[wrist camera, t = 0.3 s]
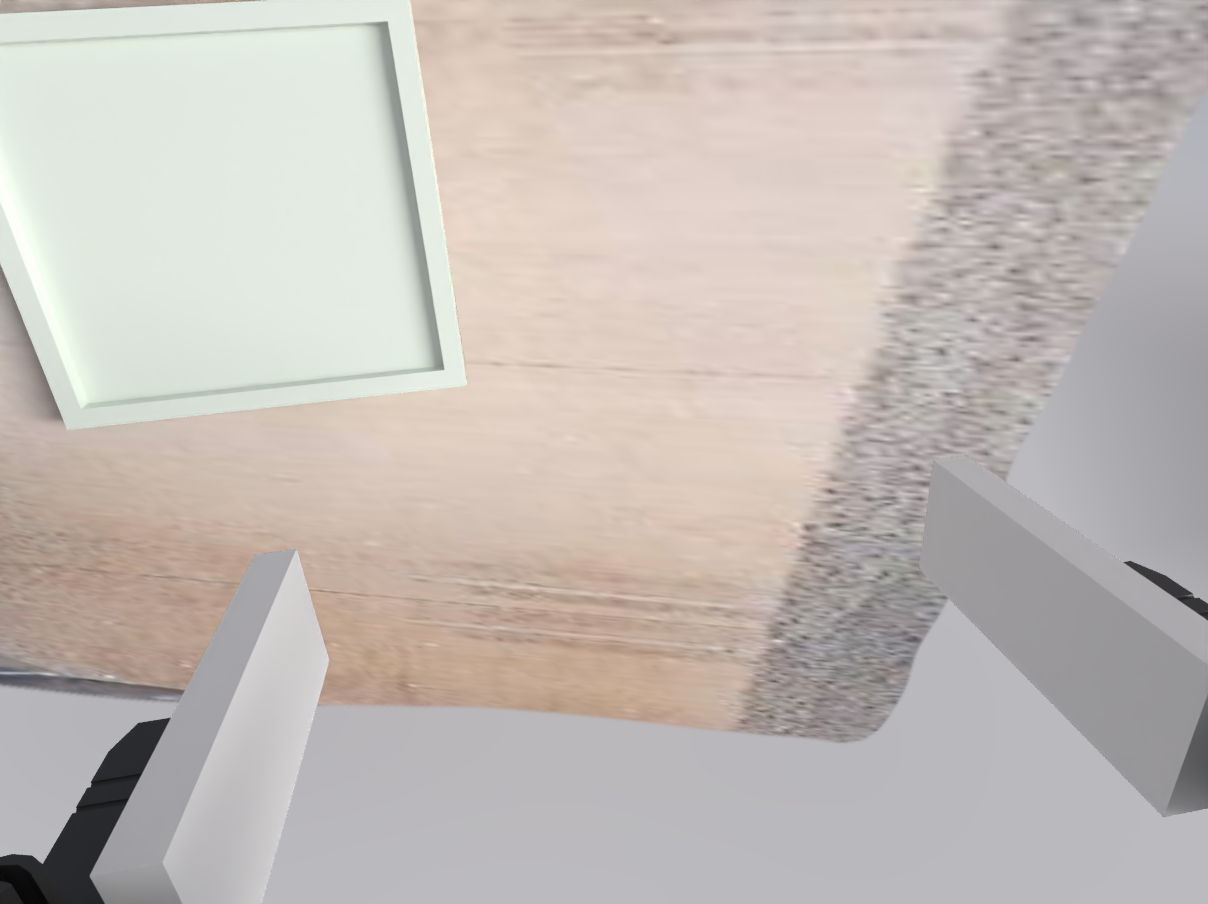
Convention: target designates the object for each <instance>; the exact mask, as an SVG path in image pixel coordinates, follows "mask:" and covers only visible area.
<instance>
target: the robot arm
mask: <svg viewBox="0 0 1208 904" xmlns="http://www.w3.org/2000/svg"><path fill="white" fill-rule="evenodd" d="M919 569H920V570H921V571H922V572H923V573H924V574H925V575H926V576H927V577H928V578H929V579H930V580H931V581H932V582H933V583H934V584H935V585H936V586H937V587H938V588H939V589H940V590H941V591H942V592H943V593H944V594H945V595H946V596H947V597H948V598H949V599H950V600H951V601H952V602H953V603H954V604H955V605H956V606H957V607H958V608H959V609H960V610H961V611H962V613H963V614H964V615H965V616H966V617H967V618H968V619H969V620H970V621H971V622H972V623H973V624H974V625H975V626H976V627H977V628H978V629H979V630H980V631H981V632H982V633H983V634H984V635H985V636H986V637H987V638H988V639H989V640H990V641H991V642H992V643H993V644H994V645H995V646H996V647H997V648H998V649H999V650H1000V651H1001V652H1002V653H1003V654H1004V655H1005V656H1006V657H1007V658H1008V659H1009V660H1010V661H1011V662H1012V663H1013V664H1014V665H1015V666H1016V668H1017V669H1018V670H1019V671H1020V672H1021V673H1022V674H1023V675H1024V676H1025V677H1026V678H1028V680H1029V681H1030V682H1031V683H1032V684H1033V685H1034V686H1035V687H1036V688H1037V689H1038V690H1039V691H1040V692H1041V693H1042V694H1043V695H1044V696H1045V697H1046V698H1047V699H1048V700H1049V701H1050V702H1051V703H1052V704H1053V705H1054V706H1055V707H1056V708H1057V709H1058V710H1059V711H1060V712H1061V713H1062V714H1063V715H1064V716H1065V717H1066V718H1067V719H1068V720H1069V721H1070V722H1071V724H1072V725H1073V726H1074V727H1075V728H1076V729H1077V730H1078V731H1080V733H1081V734H1082V735H1083V736H1084V737H1085V738H1086V739H1087V740H1088V741H1089V742H1090V743H1091V744H1092V745H1093V746H1094V747H1095V748H1096V749H1097V750H1098V751H1099V752H1100V753H1101V754H1102V755H1103V756H1104V757H1105V758H1106V759H1107V760H1108V761H1109V762H1110V763H1111V764H1112V765H1113V766H1114V767H1115V768H1116V769H1117V770H1118V771H1119V772H1120V773H1121V774H1122V775H1123V776H1124V778H1125V779H1127V780H1128V782H1129V783H1130V784H1131V785H1132V786H1133V787H1134V788H1136V790H1137V791H1138V792H1139V793H1140V794H1141V795H1142V796H1143V797H1144V798H1145V799H1146V800H1147V801H1148V802H1149V803H1150V804H1151V805H1152V806H1153V807H1154V808H1155V809H1156V810H1157V811H1158V812H1159V813H1160V814H1161V815H1162V816H1163V817H1167V816H1172V815H1177V814H1182V813H1187V812H1192V811H1196V810H1202V809H1206V808H1208V604H1207V603H1206V602H1204V601H1203V600H1201V599H1200V598H1194V597H1193V594H1192V593H1191V592H1189V591H1188V590H1186V589H1185V588H1183V587H1182V586H1180V585H1179V584H1177V583H1176V582H1174V581H1173V580H1171V579H1170V578H1168V577H1167V576H1165V575H1163V574H1160V573H1158V572H1155V571H1153V570H1151V569H1148V568H1146V567H1143V566H1141V565H1139V564H1136V563H1134V562H1131V561H1128V562H1122V561H1120V560H1119V559H1117V558H1116V557H1115V556H1113V555H1112V554H1110V553H1108V552H1107V551H1106V550H1104V549H1103V548H1101V547H1100V546H1099V545H1097V544H1095V543H1094V542H1093V541H1091V540H1089V539H1088V538H1087V537H1085V536H1084V535H1082V534H1081V533H1080V532H1078V531H1077V530H1075V529H1074V528H1072V527H1071V526H1069V525H1068V524H1066V523H1065V522H1064V521H1062V520H1061V519H1059V518H1058V517H1056V516H1055V515H1053V514H1052V513H1050V512H1049V511H1048V510H1046V509H1044V508H1043V507H1042V506H1040V505H1039V504H1037V503H1036V502H1034V501H1033V500H1031V499H1030V498H1028V497H1027V496H1025V495H1024V494H1023V493H1021V492H1020V491H1018V490H1017V489H1015V488H1014V487H1012V486H1011V485H1009V484H1008V483H1007V482H1005V481H1004V480H1002V479H1001V478H999V477H998V476H997V475H995V474H994V473H992V472H991V471H989V470H988V469H986V468H985V467H983V466H982V465H980V464H979V463H978V462H976V461H975V460H973V459H972V458H970V457H969V456H967V455H964V456H957V457H950V458H943V459H935V460H933V466H932V473H931V481H930V489H929V496H928V504H927V512H926V519H925V527H924V535H923V542H922V550H921V558H920V566H919ZM328 664H329V658H328V655H327V651H326V648H325V645H324V641H323V638H322V634H321V631H320V628H319V624H318V621H317V617H316V614H315V611H314V607H313V604H312V600H311V597H310V594H309V590H308V587H307V583H306V580H305V577H304V573H303V570H302V566H301V563H300V560H299V556H298V553H297V549H292V550H285V551H278V552H271V553H264V554H256V555H255V556H254V558H253V560H252V562H251V564H250V566H249V568H248V570H247V572H246V573H245V575H244V577H243V579H242V581H241V583H240V585H239V587H238V589H237V591H236V593H235V595H234V597H233V599H232V601H231V603H230V604H229V606H228V608H227V610H226V612H225V614H224V616H223V618H222V620H221V622H220V624H219V626H218V628H217V630H216V632H215V634H214V635H213V637H212V639H211V641H210V643H209V645H208V647H207V649H206V651H205V653H204V655H203V657H202V659H201V661H200V663H199V665H198V667H197V668H196V670H195V672H194V674H193V676H192V678H191V680H190V682H189V684H188V686H187V688H186V690H185V692H184V694H183V696H182V698H181V699H180V701H179V703H178V705H177V707H176V709H175V711H174V713H173V715H172V717H171V718H167V719H161V720H154V721H148V722H142V723H138V724H137V725H136V726H135V727H134V728H133V729H132V730H131V731H130V732H129V733H128V734H126V735H125V736H124V737H123V738H122V739H121V740H120V741H119V742H118V743H117V744H116V745H115V746H114V747H113V748H112V749H111V750H110V751H109V752H108V754H107V755H106V757H105V759H104V761H103V762H102V764H101V766H100V767H99V769H98V771H97V772H96V774H95V776H94V778H93V779H92V781H91V787H90V788H87V789H86V791H85V793H84V795H83V796H82V798H81V800H80V802H79V803H78V805H77V807H76V808H77V811H76V813H73V814H72V815H71V817H70V818H69V820H68V822H67V824H66V825H65V827H64V829H63V831H62V832H61V834H60V836H59V837H58V839H57V841H56V842H55V844H54V846H53V848H52V849H51V851H50V853H49V854H48V856H47V858H46V859H45V861H44V863H43V864H42V863H40V862H39V861H38V860H37V859H36V858H34V857H33V856H29V855H16V854H11V855H7V856H3V857H0V904H262V902H263V898H264V894H265V891H266V887H267V884H268V880H269V876H270V873H271V869H272V866H273V862H274V858H275V855H276V851H277V847H278V844H279V840H280V836H281V833H282V830H283V826H284V822H285V819H286V815H287V812H288V808H289V804H290V800H291V797H292V794H293V790H294V786H295V783H296V779H297V775H298V772H299V768H300V765H301V761H302V757H303V754H304V750H305V747H306V743H307V739H308V736H309V732H310V728H311V725H312V721H313V718H314V714H315V710H316V707H317V703H318V700H319V696H320V693H321V689H322V685H323V682H324V678H325V675H326V671H327V667H328Z"/></svg>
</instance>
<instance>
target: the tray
mask: <svg viewBox="0 0 1208 904" xmlns="http://www.w3.org/2000/svg"><path fill="white" fill-rule="evenodd" d="M0 264H1V267H2V269H3V272H4V274H5V277H6V279H7V282H8V284H9V287H10V289H11V291H12V294H13V296H14V299H15V301H16V304H17V306H18V309H19V311H20V314H21V316H22V319H23V321H24V324H25V326H26V329H27V331H28V334H29V336H30V339H31V341H32V344H33V346H34V349H35V351H36V354H37V356H38V359H39V361H40V364H41V366H42V369H43V371H44V374H45V376H46V379H47V381H48V384H49V386H50V388H51V391H52V393H53V396H54V398H55V401H56V403H57V406H58V408H59V411H60V413H61V416H62V418H63V421H64V423H65V426H66V428H67V430H73V429H82V428H91V427H100V426H109V425H118V424H127V423H136V422H145V421H154V420H163V419H172V418H181V417H190V416H199V415H208V414H217V413H226V412H235V411H244V410H253V409H262V408H271V407H280V406H289V405H298V404H307V403H316V402H325V401H334V400H343V399H352V398H361V397H370V396H379V395H387V394H396V393H405V392H414V391H423V390H432V389H441V388H450V387H459V386H466V383H467V374H466V368H465V361H464V354H463V348H462V341H461V334H460V328H459V321H458V314H457V308H456V301H455V294H454V288H453V281H452V274H451V268H450V261H449V255H448V248H447V241H446V235H445V228H444V221H443V215H442V208H441V201H440V195H439V188H438V181H437V175H436V168H435V161H434V155H433V148H432V141H431V135H430V128H429V121H428V115H427V108H426V101H425V95H424V88H423V81H422V75H421V68H420V61H419V55H418V48H417V41H416V35H415V28H414V22H413V15H412V8H411V2H410V0H265V1H246V2H226V3H206V4H187V5H167V6H147V7H127V8H108V9H88V10H68V11H48V12H29V13H9V14H0Z"/></svg>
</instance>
